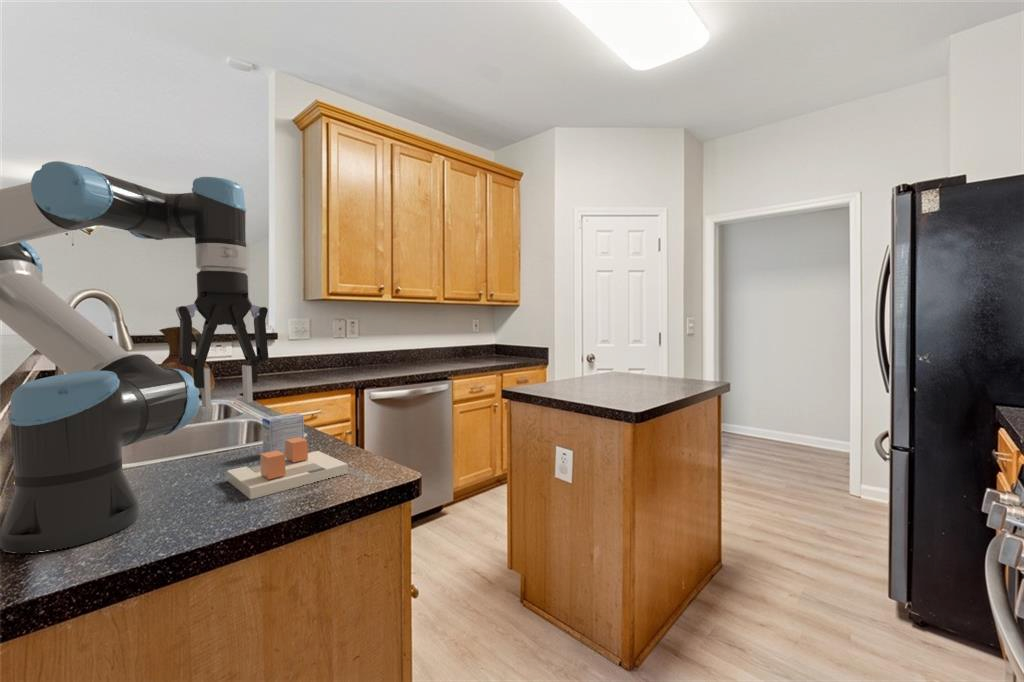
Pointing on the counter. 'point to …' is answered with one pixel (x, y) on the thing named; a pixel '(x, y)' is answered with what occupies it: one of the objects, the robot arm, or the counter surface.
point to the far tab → (296, 449)
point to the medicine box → (281, 431)
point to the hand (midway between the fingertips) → (227, 403)
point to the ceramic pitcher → (174, 352)
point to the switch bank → (296, 475)
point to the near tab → (272, 464)
